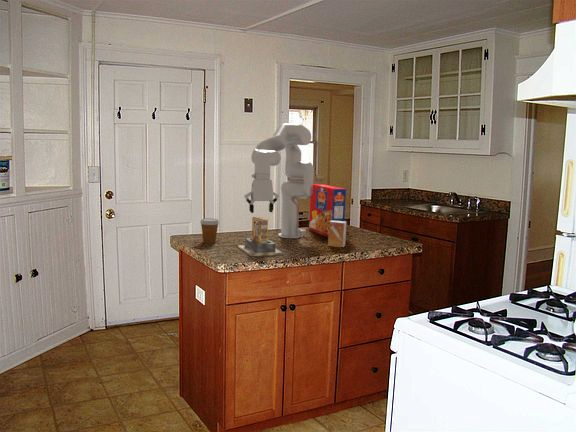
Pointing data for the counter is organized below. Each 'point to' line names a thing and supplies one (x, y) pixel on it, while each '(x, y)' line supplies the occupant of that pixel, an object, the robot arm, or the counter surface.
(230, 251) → the counter surface
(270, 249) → the slot stand
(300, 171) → the robot arm
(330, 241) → the small box
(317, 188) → the pasta box
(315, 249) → the counter surface
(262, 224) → the candy box
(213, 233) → the disposable coffee cup
